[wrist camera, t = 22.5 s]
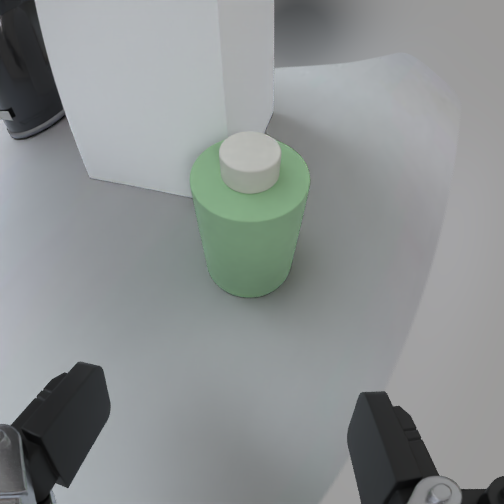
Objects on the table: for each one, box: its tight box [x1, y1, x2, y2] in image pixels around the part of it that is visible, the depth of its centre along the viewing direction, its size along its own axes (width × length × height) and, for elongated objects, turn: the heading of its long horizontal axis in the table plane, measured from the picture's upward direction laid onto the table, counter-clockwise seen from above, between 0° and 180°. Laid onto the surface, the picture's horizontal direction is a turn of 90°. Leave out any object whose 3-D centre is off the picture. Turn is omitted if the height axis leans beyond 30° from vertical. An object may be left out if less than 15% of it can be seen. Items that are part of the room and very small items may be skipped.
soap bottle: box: [190, 131, 310, 298], centre depth 16 cm, size 5×5×8 cm
